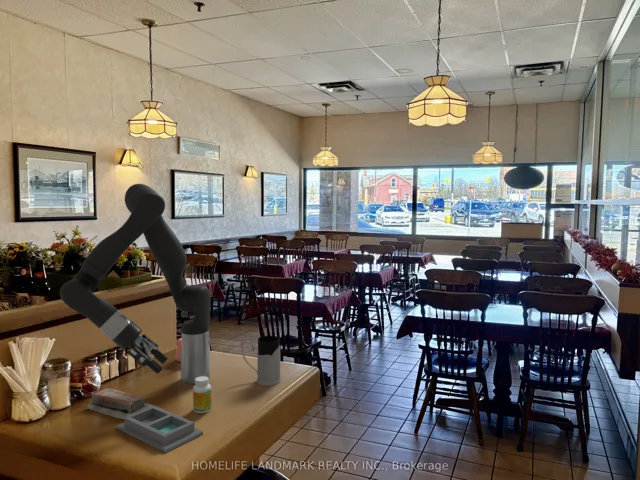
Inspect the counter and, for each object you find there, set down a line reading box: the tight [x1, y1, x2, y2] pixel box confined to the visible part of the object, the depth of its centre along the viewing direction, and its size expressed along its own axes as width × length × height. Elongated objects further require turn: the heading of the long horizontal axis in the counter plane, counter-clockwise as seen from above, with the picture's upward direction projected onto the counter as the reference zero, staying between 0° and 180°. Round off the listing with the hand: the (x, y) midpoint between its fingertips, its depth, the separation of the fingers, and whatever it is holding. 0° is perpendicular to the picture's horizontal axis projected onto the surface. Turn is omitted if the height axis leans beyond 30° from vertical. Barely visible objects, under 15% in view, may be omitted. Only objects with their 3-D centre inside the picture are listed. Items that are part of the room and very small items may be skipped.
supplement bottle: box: [192, 376, 213, 414], centre depth 148 cm, size 5×5×10 cm
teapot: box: [175, 337, 211, 363], centre depth 192 cm, size 12×18×10 cm, turn 170°
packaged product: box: [86, 388, 155, 420], centre depth 149 cm, size 18×5×10 cm
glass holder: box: [241, 335, 283, 386], centre depth 171 cm, size 9×14×15 cm, turn 80°
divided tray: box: [116, 405, 204, 454], centre depth 135 cm, size 22×12×3 cm, turn 54°
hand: (163, 365), depth 146 cm, fingers open, 8 cm apart
